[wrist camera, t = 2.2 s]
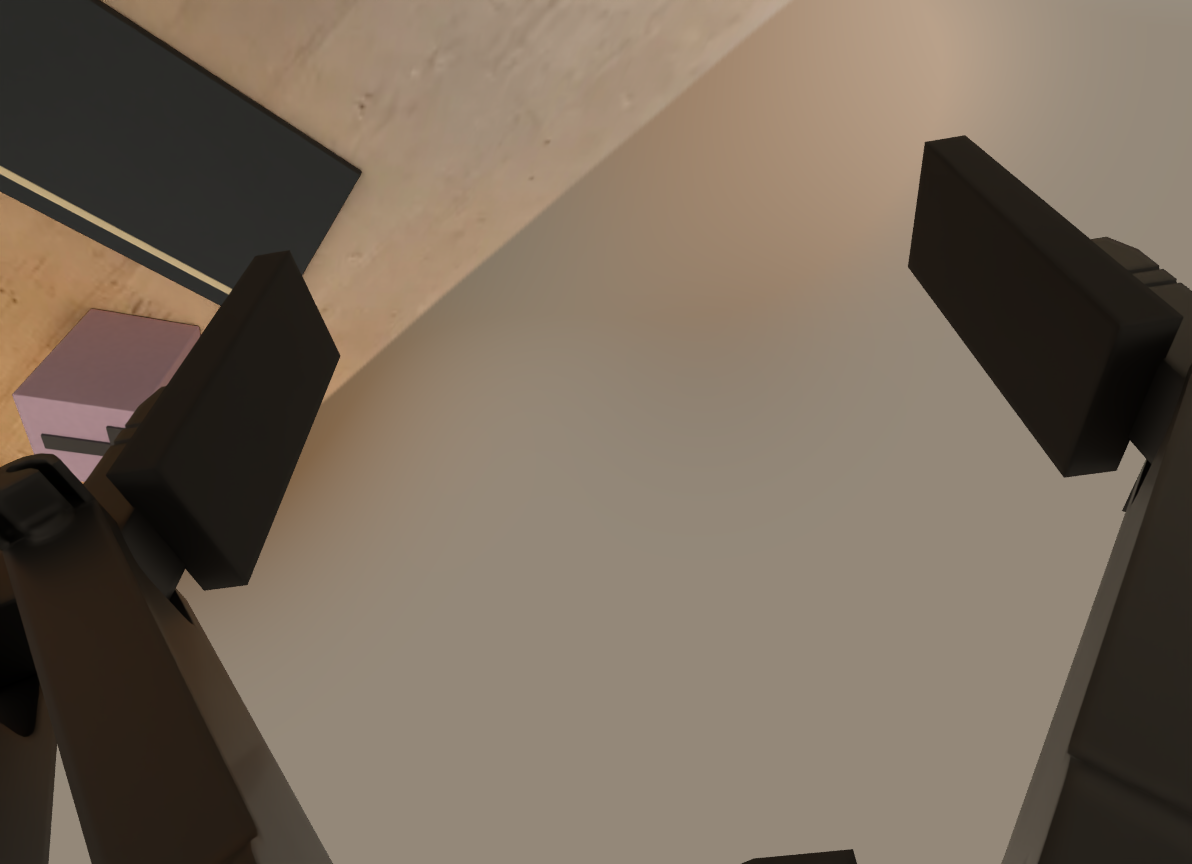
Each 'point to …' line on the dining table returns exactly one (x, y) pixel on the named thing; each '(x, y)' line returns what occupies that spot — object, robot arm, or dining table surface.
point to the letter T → (98, 383)
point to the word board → (154, 149)
